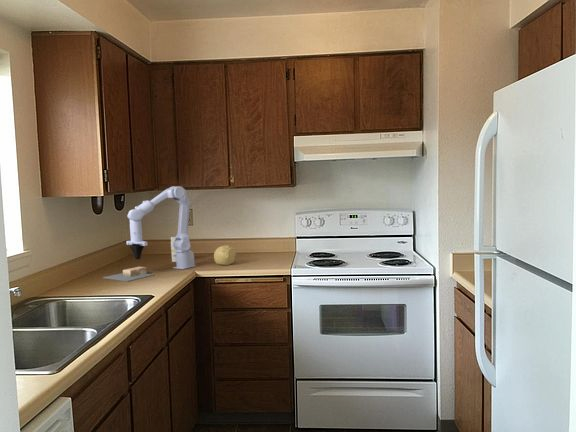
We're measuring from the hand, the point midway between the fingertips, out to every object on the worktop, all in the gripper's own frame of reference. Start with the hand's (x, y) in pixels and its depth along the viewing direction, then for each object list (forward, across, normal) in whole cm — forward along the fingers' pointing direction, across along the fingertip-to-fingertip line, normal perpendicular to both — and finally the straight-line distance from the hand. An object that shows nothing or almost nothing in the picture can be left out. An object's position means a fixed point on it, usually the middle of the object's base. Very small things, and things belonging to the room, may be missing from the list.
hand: (137, 259), depth 256 cm
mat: (+8, 0, -6) cm, 10 cm away
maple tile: (+6, 0, +3) cm, 7 cm away
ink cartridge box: (+8, -12, +38) cm, 41 cm away
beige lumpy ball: (+8, +23, +40) cm, 47 cm away
